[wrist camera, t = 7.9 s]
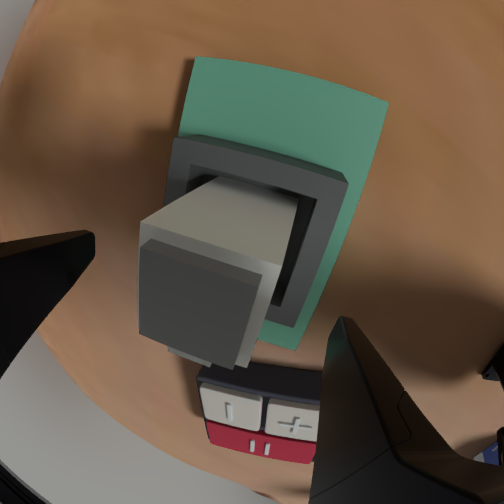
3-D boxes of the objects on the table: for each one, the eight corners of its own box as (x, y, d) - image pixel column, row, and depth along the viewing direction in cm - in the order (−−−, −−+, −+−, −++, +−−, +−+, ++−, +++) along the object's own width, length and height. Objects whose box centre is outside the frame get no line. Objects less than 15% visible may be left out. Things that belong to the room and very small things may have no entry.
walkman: (511, 429, 20) (527, 494, 10) (517, 431, 20) (532, 491, 10) (471, 458, 24) (480, 519, 13) (479, 458, 24) (487, 517, 13)
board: (384, 104, 12) (407, 96, 9) (296, 340, 19) (290, 383, 16) (202, 59, 13) (169, 43, 10) (164, 296, 20) (137, 329, 17)
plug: (299, 198, 13) (278, 278, 7) (273, 279, 15) (238, 391, 9) (219, 176, 14) (128, 229, 7) (203, 256, 16) (130, 348, 9)
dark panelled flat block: (190, 382, 19) (396, 415, 16) (211, 345, 23) (392, 373, 19) (205, 445, 24) (353, 471, 20) (219, 415, 27) (356, 438, 24)
